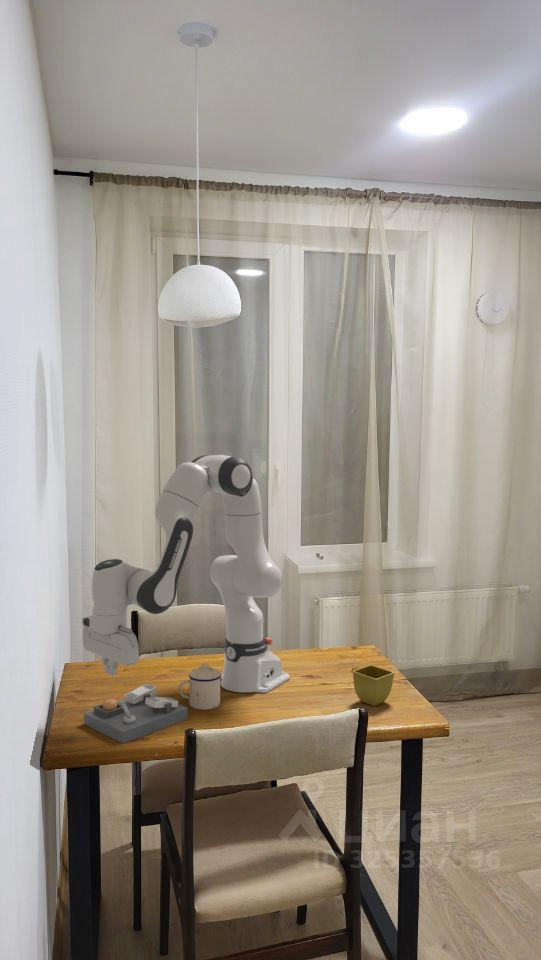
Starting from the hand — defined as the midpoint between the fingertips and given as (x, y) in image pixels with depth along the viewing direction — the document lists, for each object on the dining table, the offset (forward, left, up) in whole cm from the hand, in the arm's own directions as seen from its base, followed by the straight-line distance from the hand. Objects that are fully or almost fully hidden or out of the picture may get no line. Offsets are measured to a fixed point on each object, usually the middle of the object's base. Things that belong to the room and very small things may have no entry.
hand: (110, 673), depth 191 cm
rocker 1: (-10, -1, -8) cm, 13 cm away
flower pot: (-61, +41, -14) cm, 75 cm away
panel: (-5, +4, -13) cm, 15 cm away
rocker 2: (-10, +8, -8) cm, 16 cm away
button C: (0, 0, -10) cm, 10 cm away
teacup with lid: (-25, +7, -14) cm, 29 cm away
